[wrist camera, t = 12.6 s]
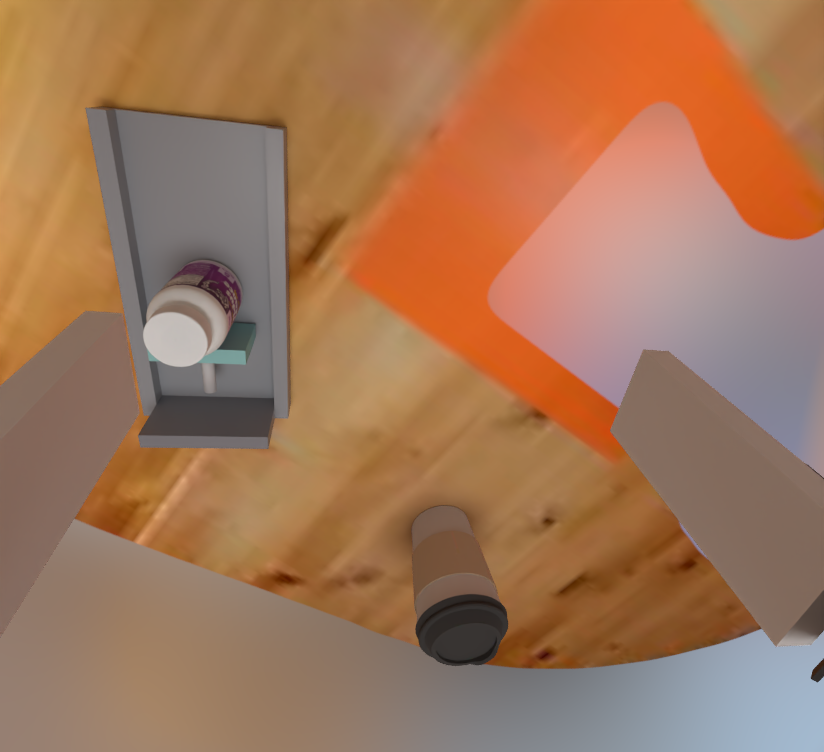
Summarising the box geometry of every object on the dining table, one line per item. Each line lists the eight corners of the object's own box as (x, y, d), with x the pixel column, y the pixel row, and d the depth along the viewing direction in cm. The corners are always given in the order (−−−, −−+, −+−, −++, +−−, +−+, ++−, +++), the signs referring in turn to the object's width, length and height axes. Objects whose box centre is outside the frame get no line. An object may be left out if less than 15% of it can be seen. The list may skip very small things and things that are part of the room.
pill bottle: (254, 310, 41) (232, 366, 33) (193, 327, 41) (156, 386, 33) (228, 249, 39) (196, 292, 30) (163, 266, 39) (113, 314, 30)
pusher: (167, 319, 41) (146, 346, 36) (255, 324, 42) (245, 350, 37) (175, 374, 43) (156, 405, 39) (258, 377, 44) (248, 407, 40)
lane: (101, 106, 34) (49, 110, 28) (286, 127, 36) (275, 134, 30) (153, 400, 46) (124, 447, 40) (290, 403, 48) (283, 448, 42)
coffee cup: (386, 530, 58) (398, 656, 45) (443, 486, 55) (473, 606, 42) (436, 562, 62) (461, 687, 49) (492, 522, 59) (533, 642, 46)
